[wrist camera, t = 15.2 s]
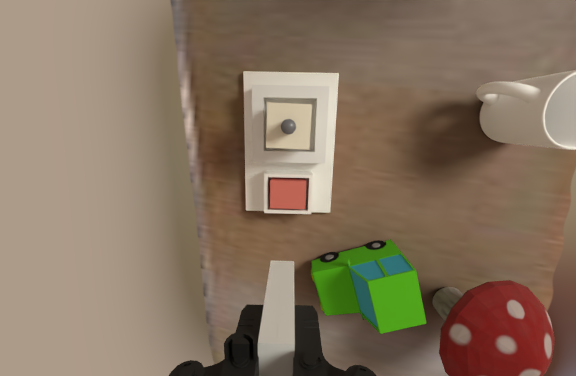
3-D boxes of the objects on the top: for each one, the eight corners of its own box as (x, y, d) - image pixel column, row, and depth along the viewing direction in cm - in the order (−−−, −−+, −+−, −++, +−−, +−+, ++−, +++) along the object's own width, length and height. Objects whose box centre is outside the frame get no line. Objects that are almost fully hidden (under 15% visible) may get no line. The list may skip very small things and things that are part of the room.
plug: (272, 106, 37) (265, 100, 27) (308, 107, 37) (313, 103, 27) (271, 142, 38) (264, 149, 29) (306, 144, 38) (310, 151, 29)
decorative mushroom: (423, 240, 43) (490, 302, 28) (516, 261, 43) (630, 332, 29) (391, 322, 46) (437, 413, 32) (477, 340, 47) (560, 438, 32)
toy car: (306, 251, 44) (310, 288, 34) (386, 230, 42) (414, 262, 33) (322, 302, 46) (330, 351, 36) (398, 284, 45) (427, 329, 35)
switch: (271, 177, 39) (270, 180, 37) (305, 178, 39) (306, 181, 37) (271, 204, 40) (270, 208, 38) (304, 204, 40) (305, 209, 38)
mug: (442, 118, 38) (496, 117, 28) (474, 60, 36) (544, 37, 26) (514, 151, 39) (590, 161, 29) (549, 96, 37) (643, 87, 27)
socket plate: (244, 72, 37) (239, 67, 34) (337, 74, 37) (342, 69, 34) (246, 208, 42) (242, 216, 39) (329, 211, 42) (332, 218, 38)
